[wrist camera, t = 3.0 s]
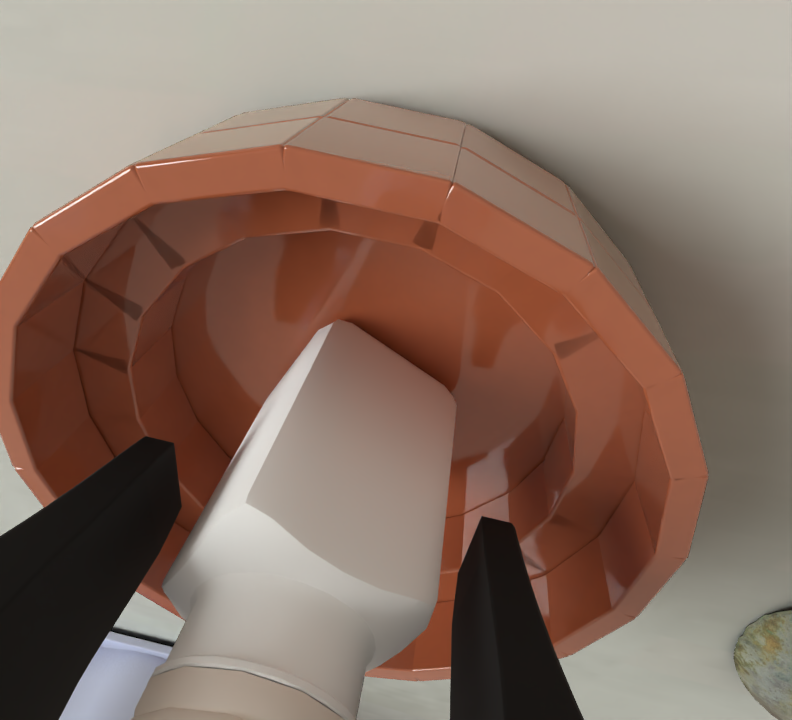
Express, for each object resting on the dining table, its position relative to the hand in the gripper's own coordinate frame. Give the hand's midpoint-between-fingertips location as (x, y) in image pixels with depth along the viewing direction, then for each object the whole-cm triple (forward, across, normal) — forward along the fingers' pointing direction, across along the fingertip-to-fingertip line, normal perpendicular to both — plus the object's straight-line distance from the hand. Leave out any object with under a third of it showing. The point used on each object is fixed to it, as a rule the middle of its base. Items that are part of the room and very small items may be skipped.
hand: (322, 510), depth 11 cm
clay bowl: (+4, 0, 0) cm, 4 cm away
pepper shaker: (+4, 0, 0) cm, 4 cm away
